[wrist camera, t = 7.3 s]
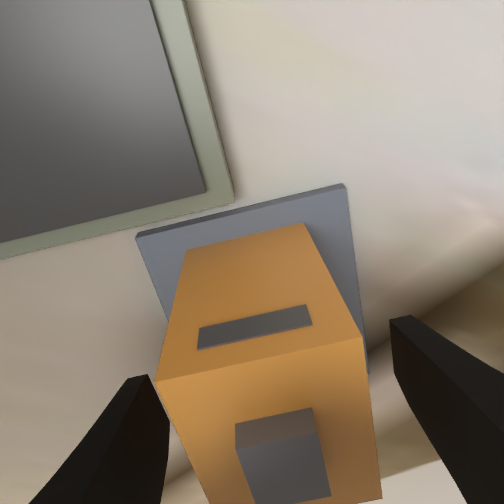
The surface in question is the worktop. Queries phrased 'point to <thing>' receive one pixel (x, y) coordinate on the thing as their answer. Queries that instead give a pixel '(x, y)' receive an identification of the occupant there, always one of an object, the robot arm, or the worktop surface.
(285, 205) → the mat
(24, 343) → the worktop surface
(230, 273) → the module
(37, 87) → the grey-green tray
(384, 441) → the worktop surface
